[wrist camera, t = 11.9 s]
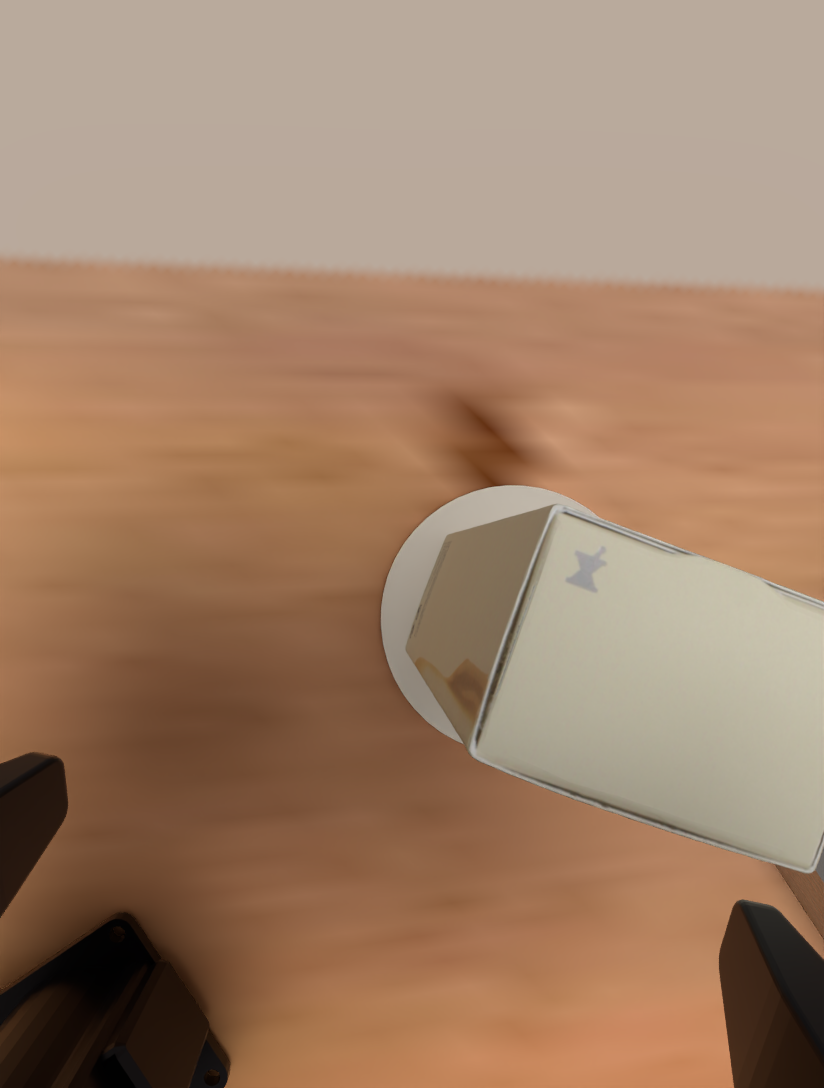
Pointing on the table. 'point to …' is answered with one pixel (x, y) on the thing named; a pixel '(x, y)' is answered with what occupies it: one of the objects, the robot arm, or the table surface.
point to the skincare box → (632, 678)
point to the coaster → (416, 569)
